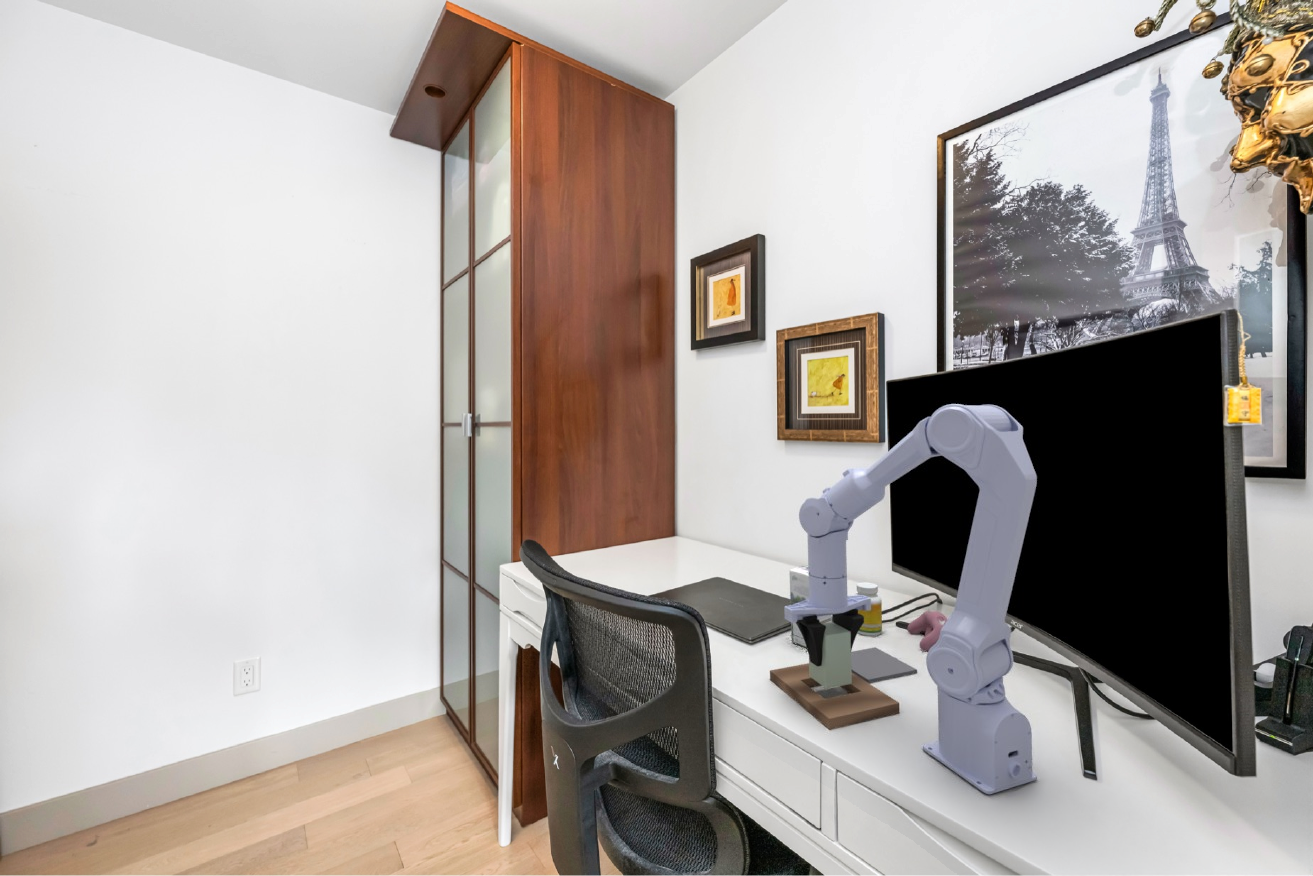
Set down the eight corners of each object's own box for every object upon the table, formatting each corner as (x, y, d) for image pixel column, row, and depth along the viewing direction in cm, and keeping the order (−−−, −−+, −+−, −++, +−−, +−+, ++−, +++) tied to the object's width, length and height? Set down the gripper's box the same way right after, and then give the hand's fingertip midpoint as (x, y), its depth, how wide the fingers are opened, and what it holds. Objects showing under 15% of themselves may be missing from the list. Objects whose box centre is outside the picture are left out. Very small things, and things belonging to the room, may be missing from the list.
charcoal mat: (917, 673, 90) (917, 669, 90) (868, 683, 86) (868, 679, 86) (875, 650, 99) (875, 647, 99) (829, 658, 96) (829, 655, 96)
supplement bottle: (848, 628, 110) (847, 582, 110) (871, 625, 111) (870, 580, 111) (864, 638, 105) (863, 589, 105) (888, 635, 106) (887, 587, 106)
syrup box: (833, 644, 102) (832, 569, 102) (813, 652, 99) (811, 574, 99) (810, 635, 107) (808, 563, 107) (790, 643, 104) (788, 568, 103)
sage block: (851, 683, 81) (850, 631, 81) (826, 688, 80) (825, 636, 80) (833, 671, 86) (832, 622, 86) (809, 676, 84) (808, 625, 84)
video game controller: (942, 661, 97) (960, 628, 97) (918, 649, 98) (936, 616, 97) (926, 640, 107) (942, 610, 106) (904, 629, 108) (920, 599, 107)
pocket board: (899, 713, 77) (899, 702, 77) (829, 729, 74) (829, 718, 74) (830, 667, 92) (830, 659, 92) (770, 679, 89) (769, 670, 89)
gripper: (849, 563, 89) (851, 644, 89) (773, 572, 84) (775, 658, 84) (879, 573, 82) (881, 661, 82) (798, 584, 78) (800, 677, 78)
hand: (829, 661), depth 83 cm, fingers closed on sage block, 4 cm apart
